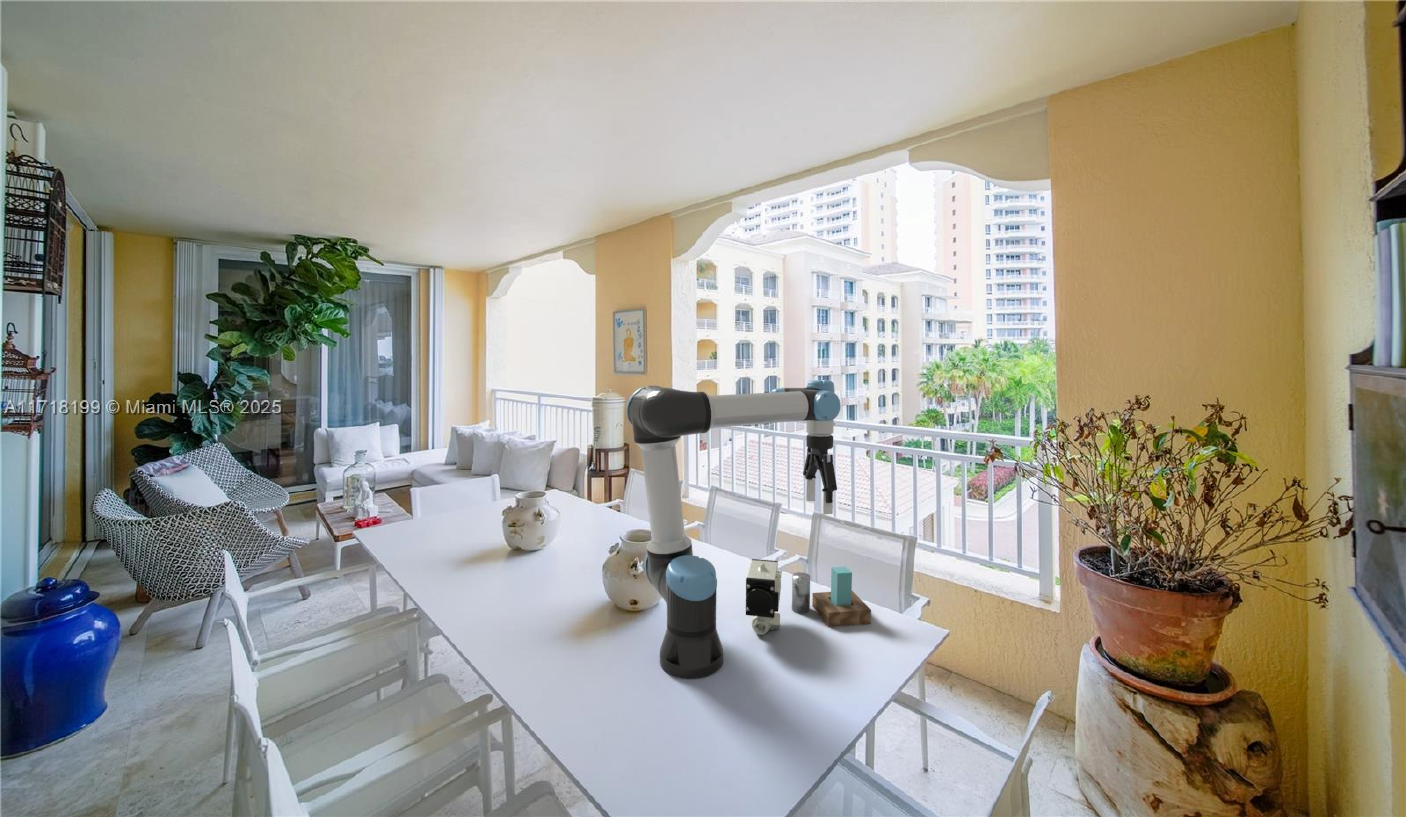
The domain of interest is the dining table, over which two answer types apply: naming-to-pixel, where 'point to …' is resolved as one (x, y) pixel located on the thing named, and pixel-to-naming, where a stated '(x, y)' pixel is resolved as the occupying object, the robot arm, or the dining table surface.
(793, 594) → the round bit
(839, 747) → the dining table surface
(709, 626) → the robot arm
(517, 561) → the dining table surface
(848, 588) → the square bit
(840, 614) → the bore block
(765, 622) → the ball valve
